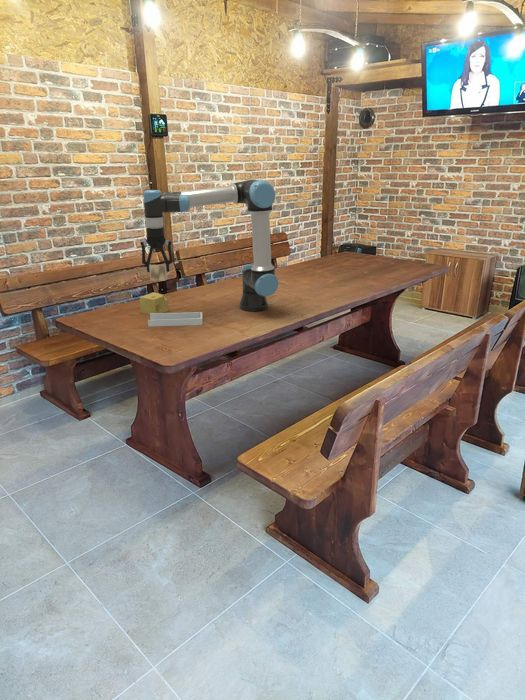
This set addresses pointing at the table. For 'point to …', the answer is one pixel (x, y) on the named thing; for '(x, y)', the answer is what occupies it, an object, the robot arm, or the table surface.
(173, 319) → the channel
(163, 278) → the block
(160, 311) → the cheese
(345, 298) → the table surface
